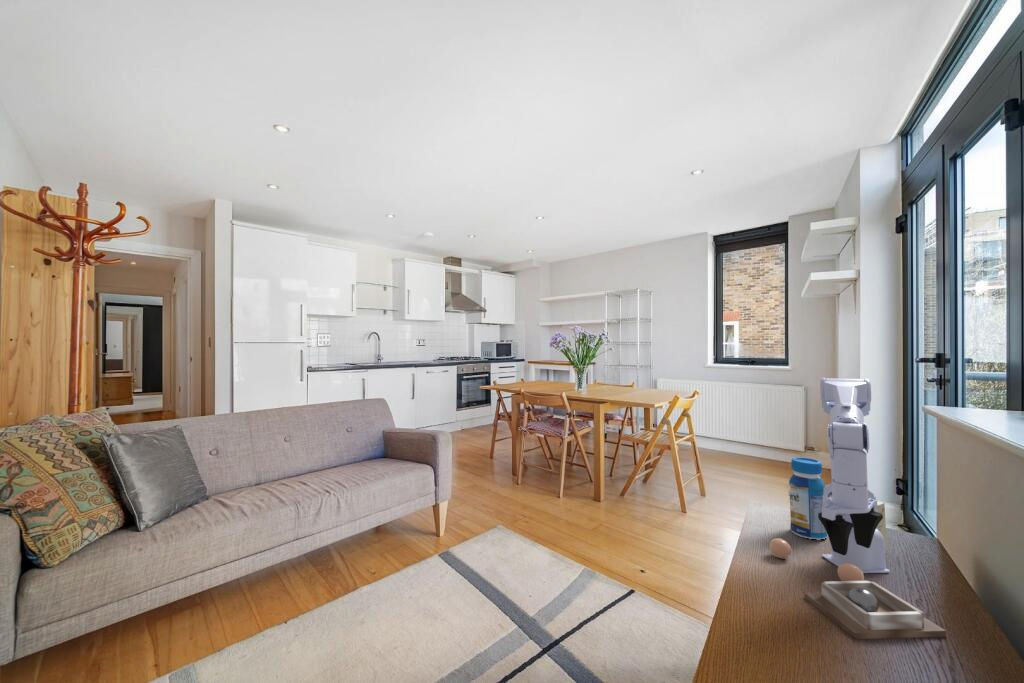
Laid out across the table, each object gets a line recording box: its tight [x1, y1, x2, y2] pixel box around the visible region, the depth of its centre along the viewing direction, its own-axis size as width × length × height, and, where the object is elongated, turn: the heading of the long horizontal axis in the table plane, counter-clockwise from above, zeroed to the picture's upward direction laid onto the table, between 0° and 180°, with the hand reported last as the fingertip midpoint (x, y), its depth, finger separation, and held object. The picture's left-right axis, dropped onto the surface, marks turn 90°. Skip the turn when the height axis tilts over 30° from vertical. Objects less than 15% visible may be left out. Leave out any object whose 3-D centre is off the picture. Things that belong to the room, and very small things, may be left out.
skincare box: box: [876, 500, 888, 553], centre depth 101 cm, size 6×4×12 cm
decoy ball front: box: [769, 538, 792, 560], centre depth 99 cm, size 4×4×4 cm
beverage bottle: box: [788, 457, 828, 541], centre depth 111 cm, size 8×8×20 cm
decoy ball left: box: [837, 563, 865, 581], centre depth 87 cm, size 4×4×4 cm
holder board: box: [804, 580, 947, 640], centre depth 77 cm, size 16×12×4 cm
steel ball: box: [848, 587, 879, 612], centre depth 76 cm, size 4×4×4 cm
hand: (851, 549), depth 83 cm, fingers open, 7 cm apart
